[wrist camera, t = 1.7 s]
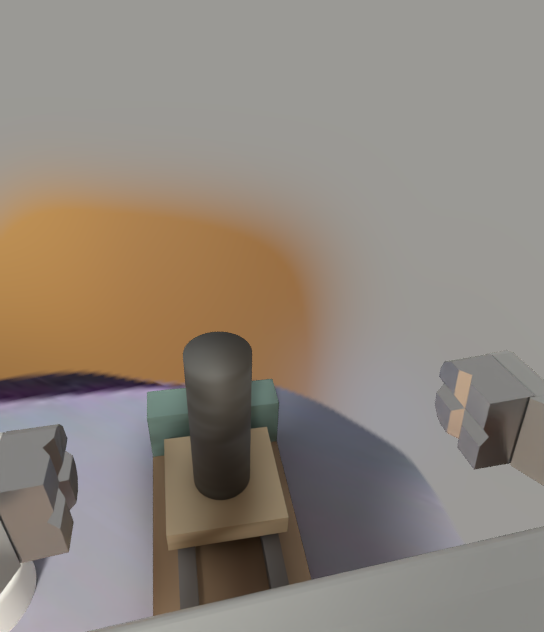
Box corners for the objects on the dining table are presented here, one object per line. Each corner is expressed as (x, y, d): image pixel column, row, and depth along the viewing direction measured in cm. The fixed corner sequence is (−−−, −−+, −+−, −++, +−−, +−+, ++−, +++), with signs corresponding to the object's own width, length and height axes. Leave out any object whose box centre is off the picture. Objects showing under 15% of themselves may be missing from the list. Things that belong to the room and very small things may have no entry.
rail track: (158, 1106, 17) (138, 1128, 13) (155, 443, 39) (147, 391, 36) (413, 1018, 18) (450, 1018, 15) (269, 429, 40) (272, 378, 37)
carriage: (168, 550, 29) (146, 410, 22) (165, 453, 34) (147, 318, 28) (287, 531, 30) (300, 393, 23) (266, 441, 36) (272, 308, 29)
